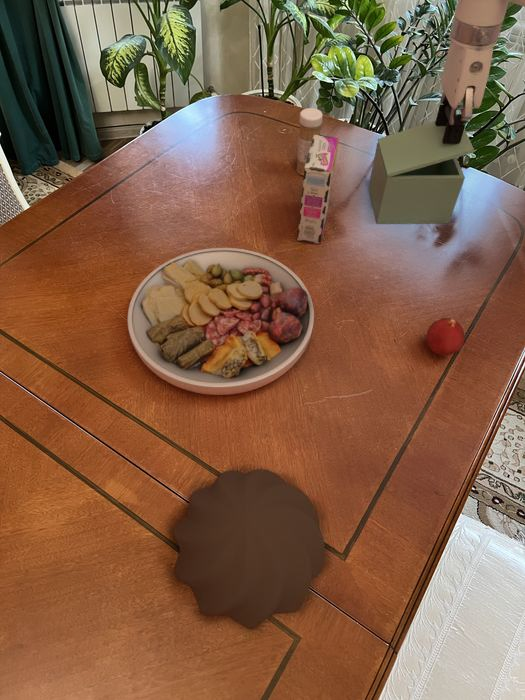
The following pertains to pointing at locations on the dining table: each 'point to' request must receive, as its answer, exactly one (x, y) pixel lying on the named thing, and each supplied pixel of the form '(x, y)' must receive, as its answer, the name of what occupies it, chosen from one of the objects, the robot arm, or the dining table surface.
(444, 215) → the compartment
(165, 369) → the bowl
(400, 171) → the lid
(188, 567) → the decorative dome
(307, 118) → the sprinkles bottle
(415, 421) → the dining table surface
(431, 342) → the onion
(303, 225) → the candy bar box
